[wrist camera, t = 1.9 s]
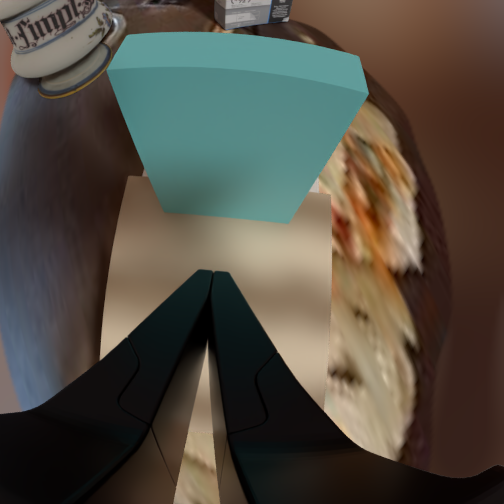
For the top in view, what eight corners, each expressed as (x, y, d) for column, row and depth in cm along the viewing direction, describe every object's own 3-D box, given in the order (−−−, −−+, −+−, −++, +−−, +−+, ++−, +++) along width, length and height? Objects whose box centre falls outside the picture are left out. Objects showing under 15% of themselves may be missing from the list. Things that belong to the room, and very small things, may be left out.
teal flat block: (288, 223, 19) (368, 93, 8) (163, 212, 19) (106, 70, 7) (289, 195, 20) (358, 56, 8) (169, 184, 19) (127, 35, 8)
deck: (307, 421, 19) (320, 434, 16) (114, 404, 18) (99, 414, 15) (318, 210, 23) (330, 194, 20) (138, 193, 22) (128, 175, 19)
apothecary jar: (30, 70, 25) (-16, -27, 7) (111, 28, 27) (88, -80, 10) (32, 125, 23) (-44, 4, 5) (132, 72, 25) (101, -76, 8)
